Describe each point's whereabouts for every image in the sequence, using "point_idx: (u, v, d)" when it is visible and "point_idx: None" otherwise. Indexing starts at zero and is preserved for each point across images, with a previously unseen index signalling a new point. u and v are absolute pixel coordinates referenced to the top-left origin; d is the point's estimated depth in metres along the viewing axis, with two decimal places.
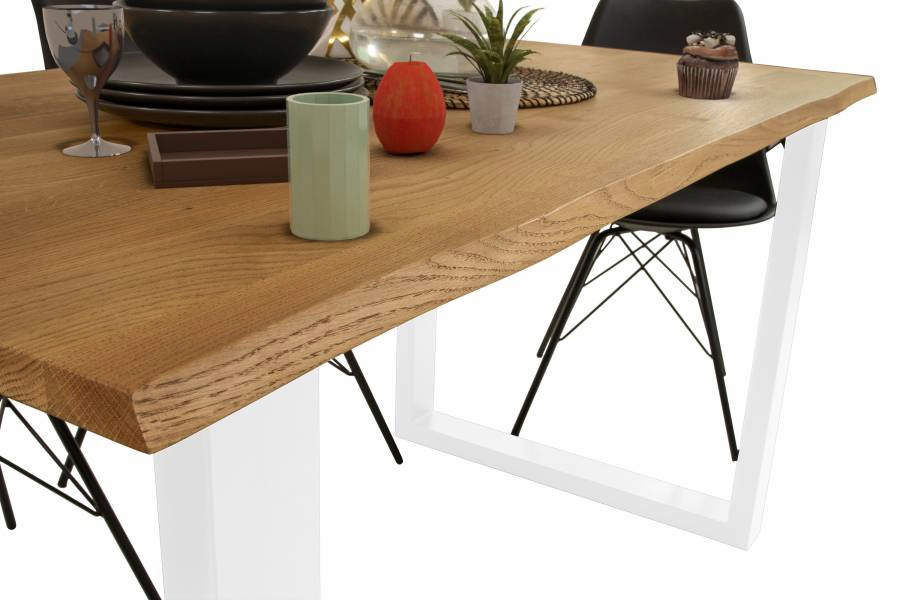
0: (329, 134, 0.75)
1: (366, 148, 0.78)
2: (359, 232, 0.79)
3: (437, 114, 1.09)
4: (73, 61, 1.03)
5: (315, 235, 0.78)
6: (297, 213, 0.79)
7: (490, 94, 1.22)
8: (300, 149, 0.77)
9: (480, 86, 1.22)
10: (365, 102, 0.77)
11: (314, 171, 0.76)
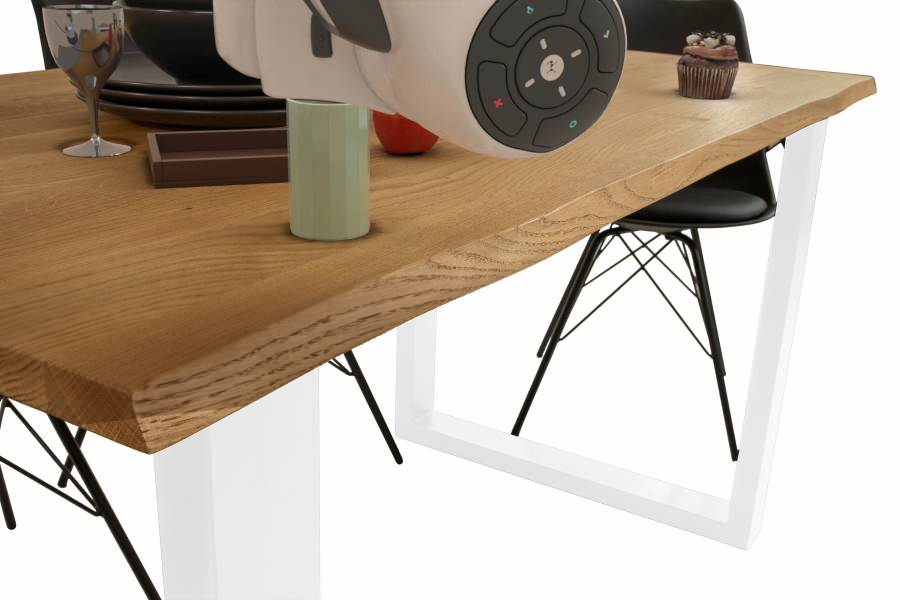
0: (329, 134, 0.75)
1: (366, 148, 0.78)
2: (359, 232, 0.79)
3: None
4: (73, 61, 1.03)
5: (315, 235, 0.78)
6: (297, 213, 0.79)
7: None
8: (300, 149, 0.77)
9: None
10: None
11: (314, 171, 0.76)
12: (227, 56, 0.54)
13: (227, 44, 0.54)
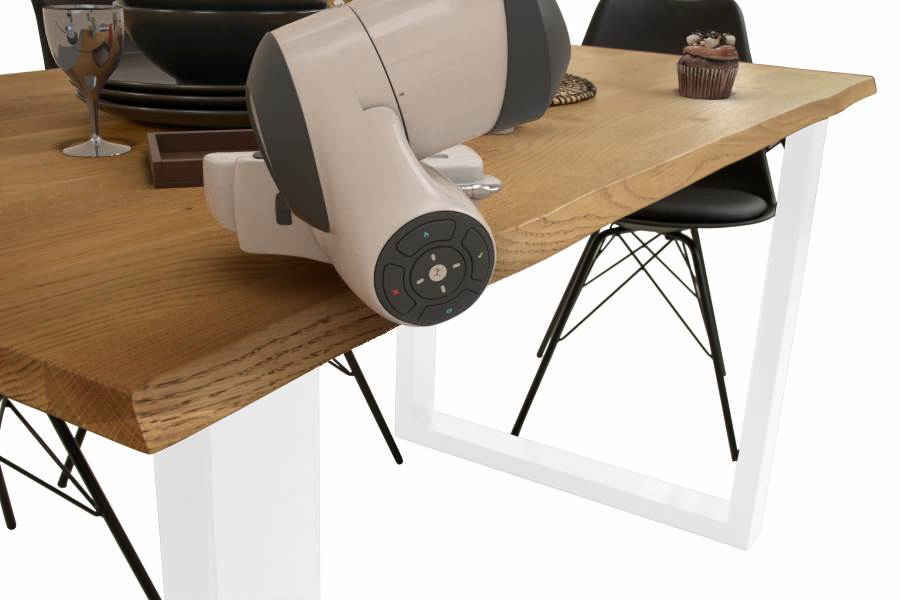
0: None
1: None
2: None
3: None
4: (73, 61, 1.03)
5: None
6: None
7: None
8: None
9: None
10: None
11: None
12: (213, 212, 0.70)
13: (213, 204, 0.69)
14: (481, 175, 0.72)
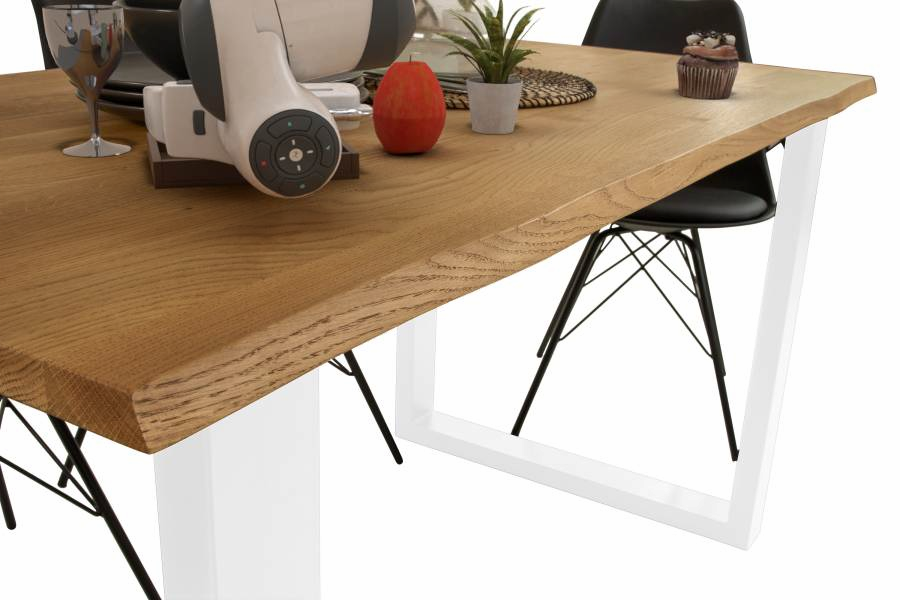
0: None
1: None
2: None
3: (437, 114, 1.09)
4: (73, 61, 1.03)
5: None
6: None
7: (490, 94, 1.22)
8: None
9: (480, 86, 1.22)
10: None
11: None
12: (149, 129, 0.92)
13: (149, 123, 0.91)
14: (357, 103, 0.94)
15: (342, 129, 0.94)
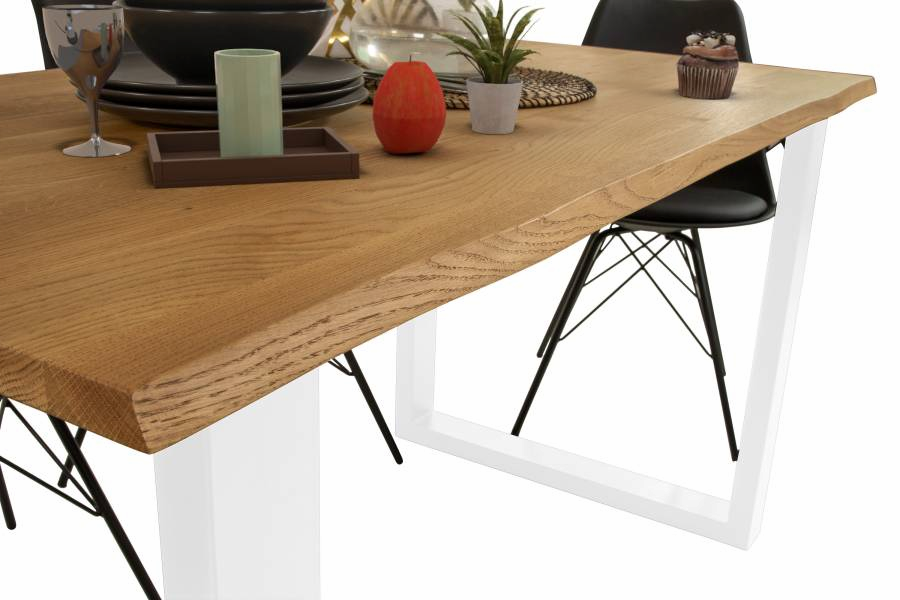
0: (246, 79, 0.98)
1: (277, 91, 1.00)
2: None
3: (437, 114, 1.09)
4: (73, 61, 1.03)
5: None
6: (224, 142, 1.01)
7: (490, 94, 1.22)
8: (225, 91, 0.99)
9: (480, 86, 1.22)
10: (275, 55, 0.99)
11: (236, 108, 0.99)
12: None
13: None
14: None
15: None
